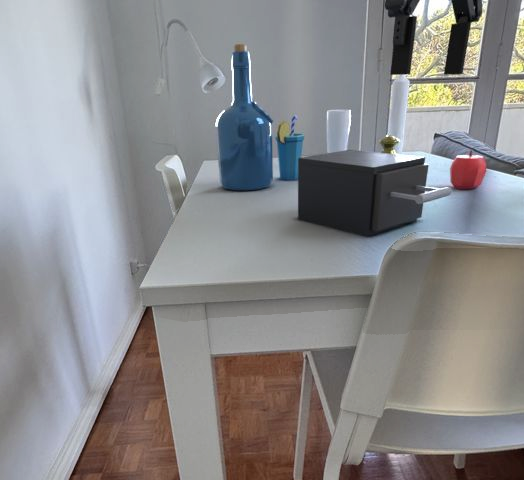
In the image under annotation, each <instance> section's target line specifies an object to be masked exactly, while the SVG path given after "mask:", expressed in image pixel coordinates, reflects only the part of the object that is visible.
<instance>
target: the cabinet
mask: <svg viewBox="0 0 524 480" xmlns="http://www.w3.org/2000/svg"><path fill="white" fill-rule="evenodd" d="M425 162H426V156H417V155H408V154H407V155H406V154H402V155H398V154H388V153H381V152H376V151H366V150H356V149H347V150H345V151H339V152H332V153H327V152H326V153H321V154H314V155H308V156H301V158H298V179H297V219H298V220H301V221H305V222H308V223H313V224H317V225H321V226H325V227H328V228H334V229H337V230H341V231H345V232H349V233H352V234H356V235H360V236H366V237H371V236H374V235H377V234H381V233H384V232H387V231H390V230H393V229H396V228H399V227H403V226H405V225H408V224H412V223H415V222H417V221H418V219H414V220H411V221H408V222H405V223H402V224H399V225H396V226H392V227H389V228H386V229H383V230H380V231H373V230H371V228H372V216H373V205H374V193H375V181H376V173H378V172H383V171H388V170H392V169H397V168H402V167H407V166H411V165H412V166H414V165H419V164H426V163H425Z"/></svg>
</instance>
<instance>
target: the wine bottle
mask: <svg viewBox="0 0 524 480" xmlns="http://www.w3.org/2000/svg"><path fill="white" fill-rule="evenodd" d="M233 48H234V51H232V53H231V68H230V69H231V70H232V102H231V105H230V106H229V107H227V108H226V109H224V110H223V111H222V112H221V113H220V114H219V115H218V117H217V118H216V122H215V132H216V147H217V163H218V172H219V173H218V175H219V184H220V185H221V187H222V188H223V189H224V190H230V191H235V192H248V191H249V192H250V191H259V190H262V189H266V188H269V187H270V186H271V185H272V184H273V182H274V167H273V165H274V161H273V159H274V158H273V123H274V122H275V121H274V119H273V118H272V117H271V115H270V114H268V113H267V112H266V111H265V109H263V108H261V106H260V105H258V103H257V102H256V101H255V100H253V90H252V87H253V86H252V75H251V69H252V63H251V57H250V51H247V48H248V47H247V44H246V43H236V44H235V45H234V47H233Z"/></svg>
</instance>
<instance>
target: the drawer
mask: <svg viewBox="0 0 524 480" xmlns="http://www.w3.org/2000/svg"><path fill="white" fill-rule="evenodd" d="M429 167H430V166H429V163H425V164H419V165H414V166H412V165H411V166H407V167H402V168H397V169H392V170H388V171H383V172H378V173H376V181H375V193H374V205H373V216H372V228H371V230H373V231H380V230H383V229H386V228H389V227H392V226H396V225H399V224H402V223H405V222H408V221H411V220H414V219H417V220H418V219H421V218H422V216H423V208H424V204H425V203H428V202H432V201H435V200H440V199H442V198H443V199H444V198H445V197H449V196H450V195H452V191H453V190H452V188H451V187H449V186H446V187H442V188H438V187H432V186H431V187H430V186H427V180H428V172H429Z"/></svg>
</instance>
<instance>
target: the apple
mask: <svg viewBox="0 0 524 480" xmlns="http://www.w3.org/2000/svg"><path fill="white" fill-rule="evenodd" d="M486 173H487V162H486V159H485V158H484V157H483V156H482V155H476V154H473V150H472V149H471V150H470V151H469V154H463V155H457V156H456V157H455V158H454V159H453V161H451V165H450V168H449V178H450V179H449V180H450V184H451V185H452V186H453V187H454V188H455V189H459V190H474V189H477V188H478V187H480V186H481V185H482V183H483V180H484V178H485V175H486Z"/></svg>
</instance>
